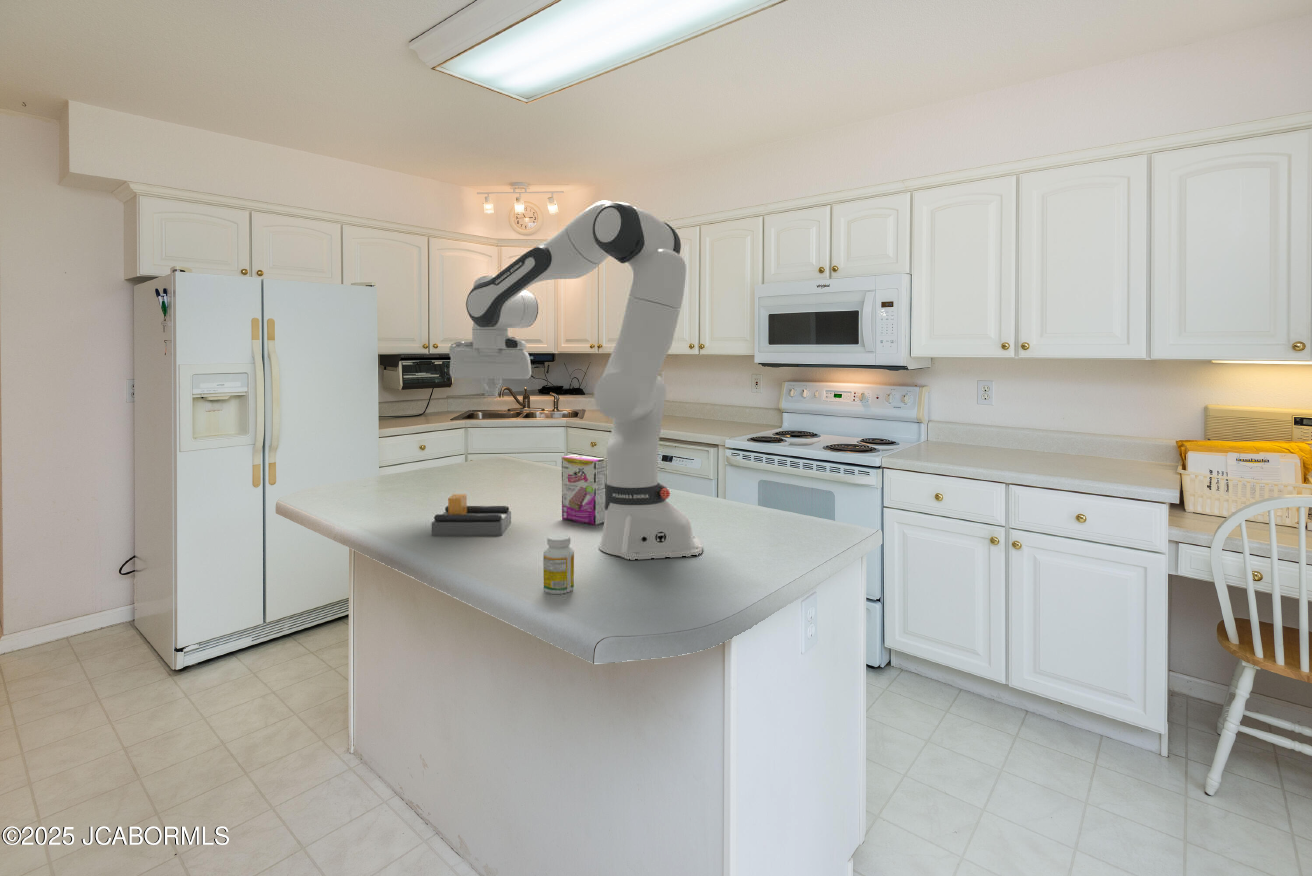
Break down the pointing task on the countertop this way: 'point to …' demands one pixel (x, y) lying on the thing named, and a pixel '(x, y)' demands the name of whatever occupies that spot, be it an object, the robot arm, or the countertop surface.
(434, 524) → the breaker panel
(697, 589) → the countertop surface
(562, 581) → the supplement bottle
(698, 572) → the countertop surface
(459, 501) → the block
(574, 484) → the candy bar box
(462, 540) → the countertop surface
